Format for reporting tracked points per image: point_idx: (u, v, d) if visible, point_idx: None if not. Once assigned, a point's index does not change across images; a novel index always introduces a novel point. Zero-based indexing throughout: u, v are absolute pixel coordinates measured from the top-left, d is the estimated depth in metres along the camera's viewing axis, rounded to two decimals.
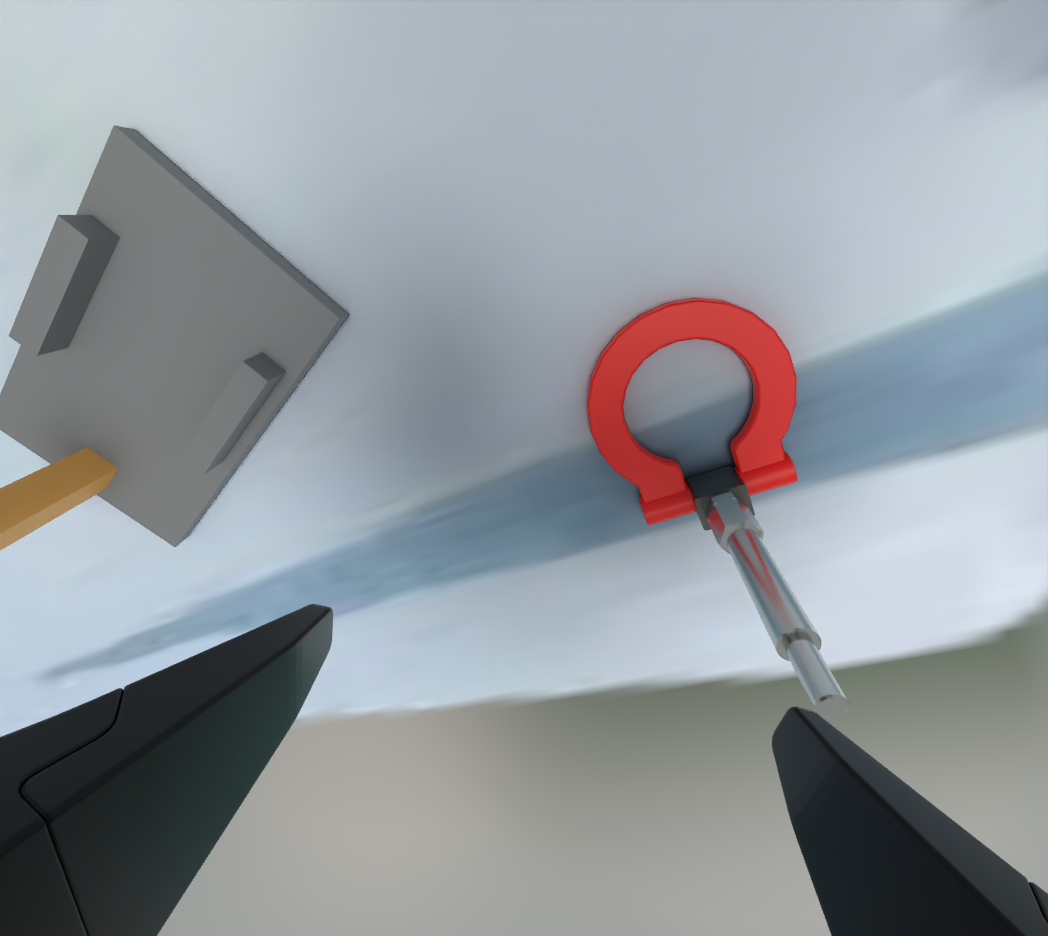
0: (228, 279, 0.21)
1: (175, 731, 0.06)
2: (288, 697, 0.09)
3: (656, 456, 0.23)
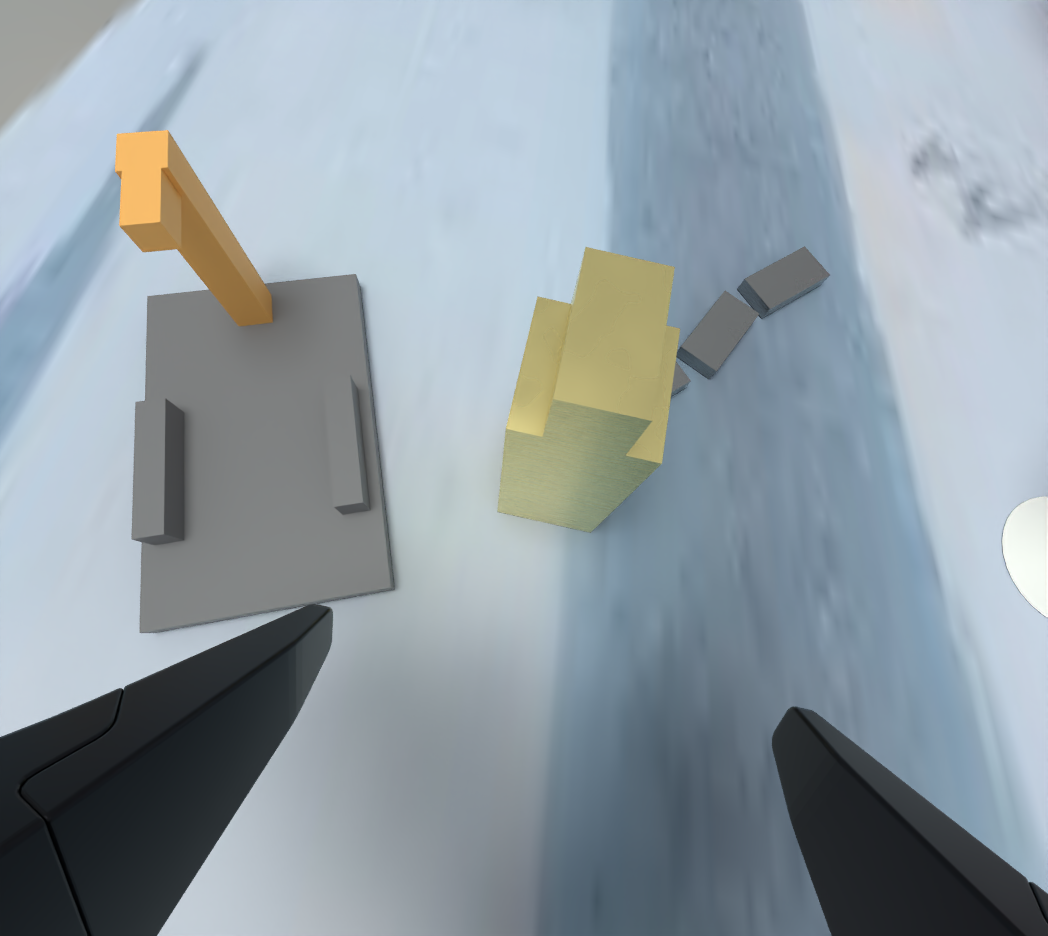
0: (248, 568, 0.22)
1: (175, 731, 0.06)
2: (288, 697, 0.09)
3: None
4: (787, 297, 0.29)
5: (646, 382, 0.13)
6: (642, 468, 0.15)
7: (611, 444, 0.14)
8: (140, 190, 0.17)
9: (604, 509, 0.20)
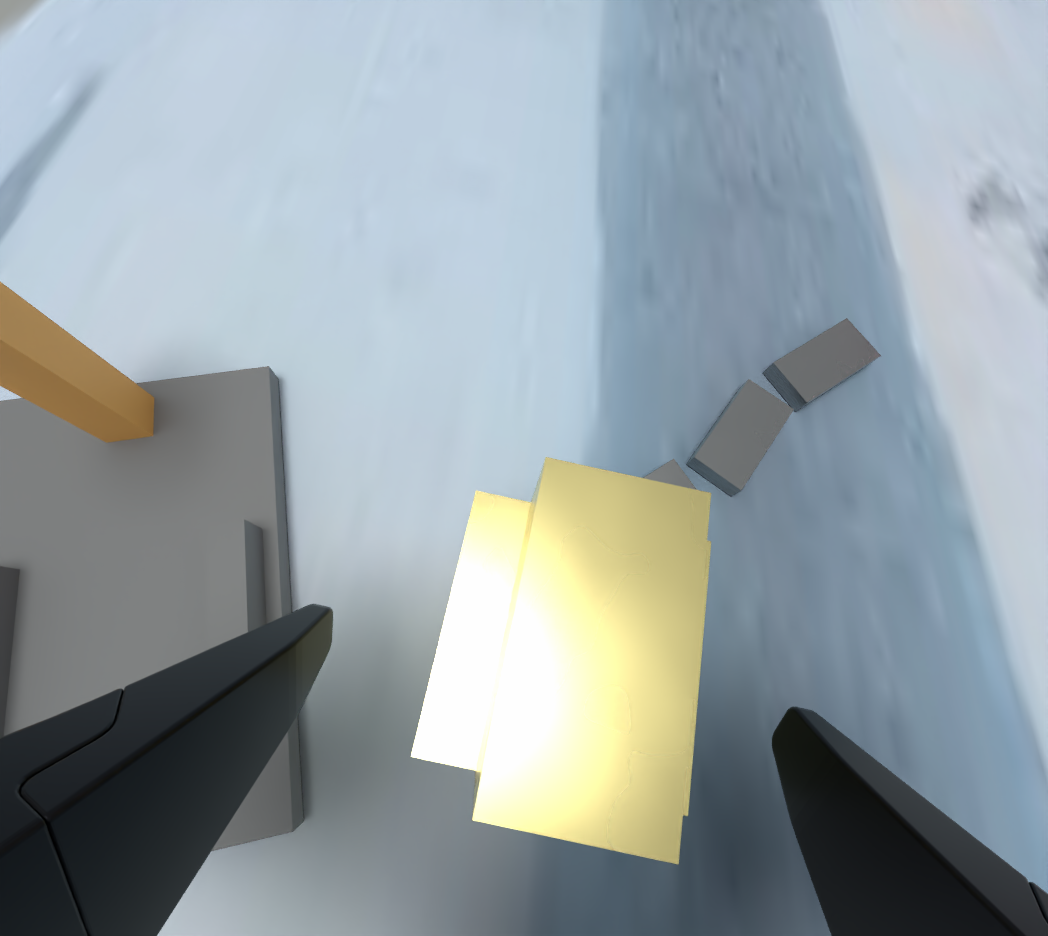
0: None
1: (175, 731, 0.06)
2: (288, 697, 0.09)
3: None
4: (828, 386, 0.22)
5: (664, 764, 0.06)
6: None
7: None
8: None
9: None
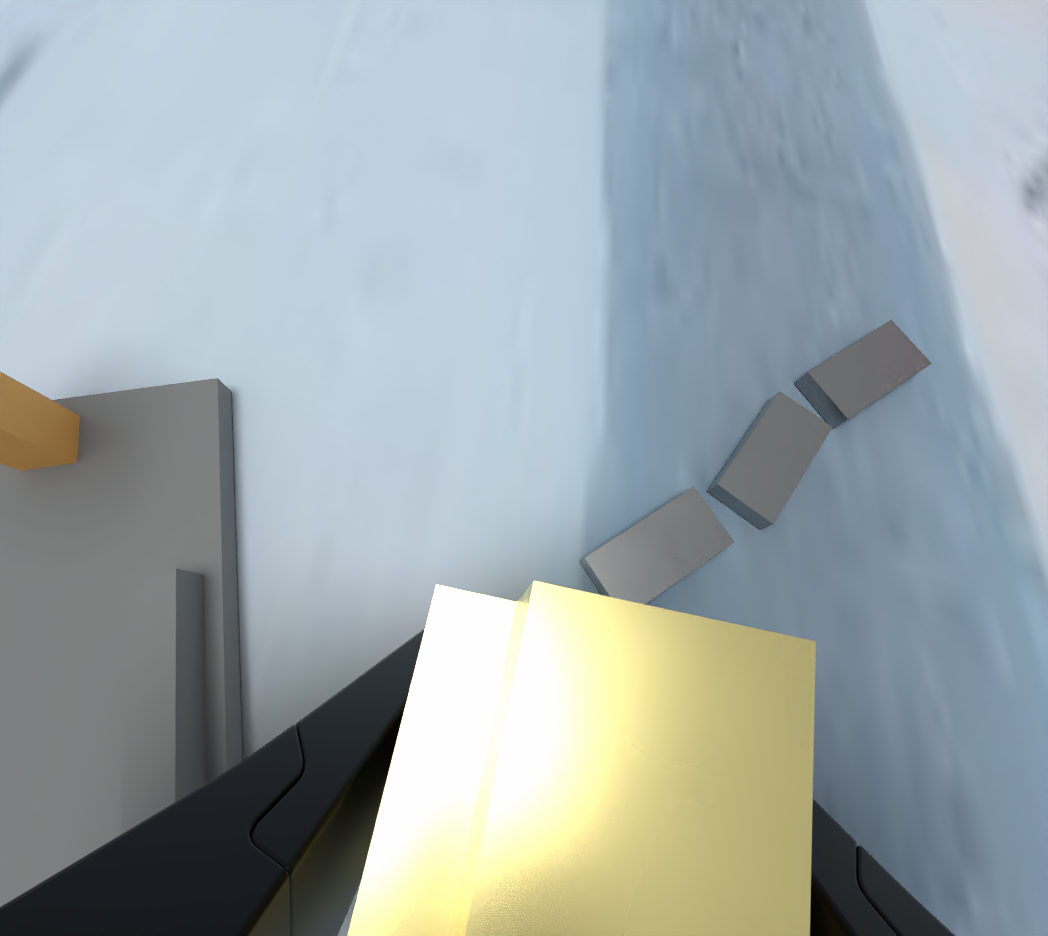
0: None
1: (360, 771, 0.06)
2: None
3: None
4: (872, 400, 0.19)
5: None
6: None
7: None
8: None
9: None
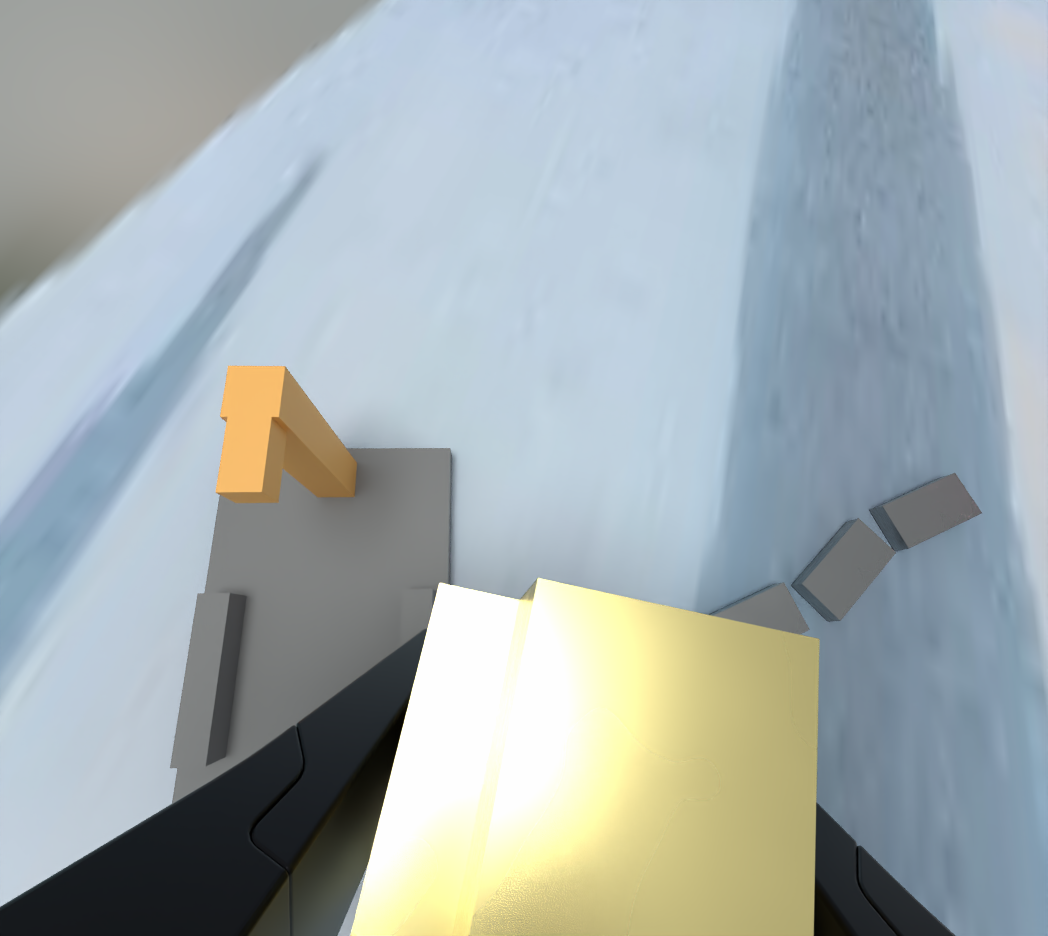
0: None
1: (360, 771, 0.06)
2: None
3: None
4: (930, 535, 0.25)
5: None
6: None
7: None
8: (245, 445, 0.15)
9: None
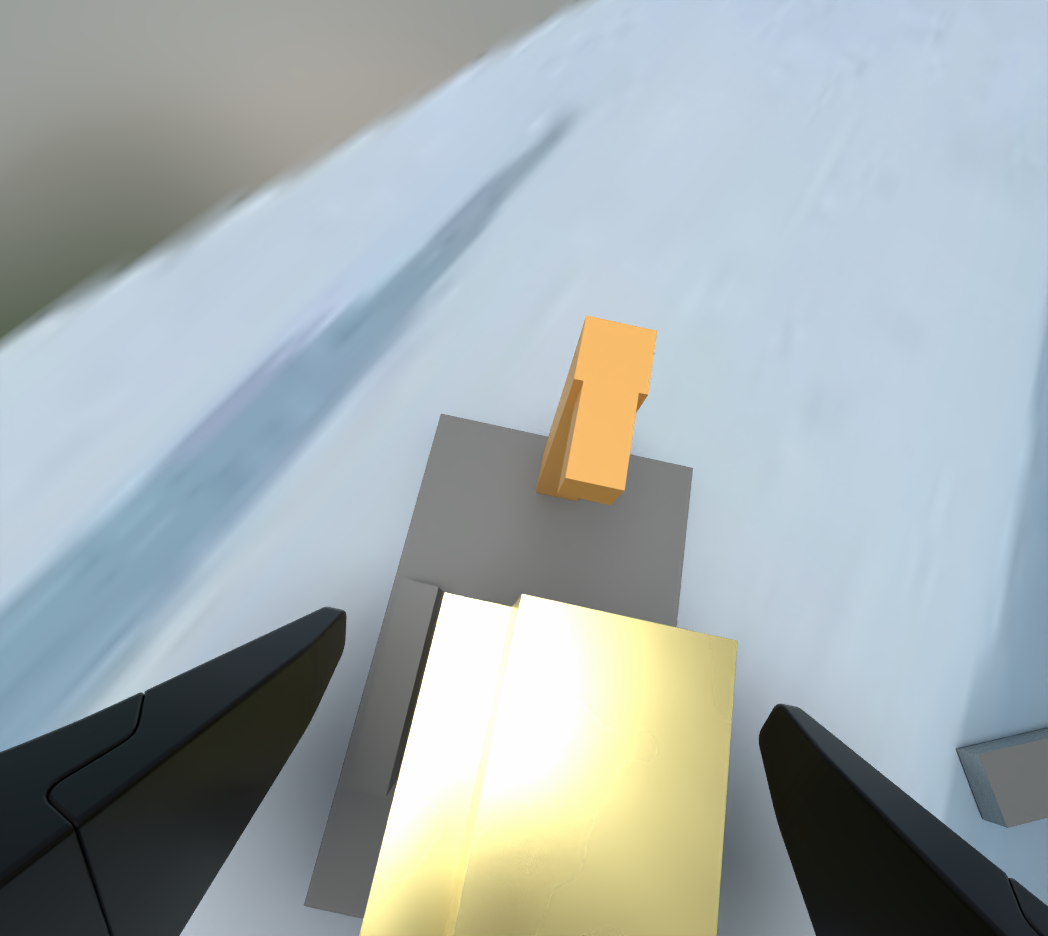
0: None
1: (197, 736, 0.06)
2: (304, 701, 0.09)
3: None
4: None
5: None
6: None
7: None
8: (604, 423, 0.11)
9: None
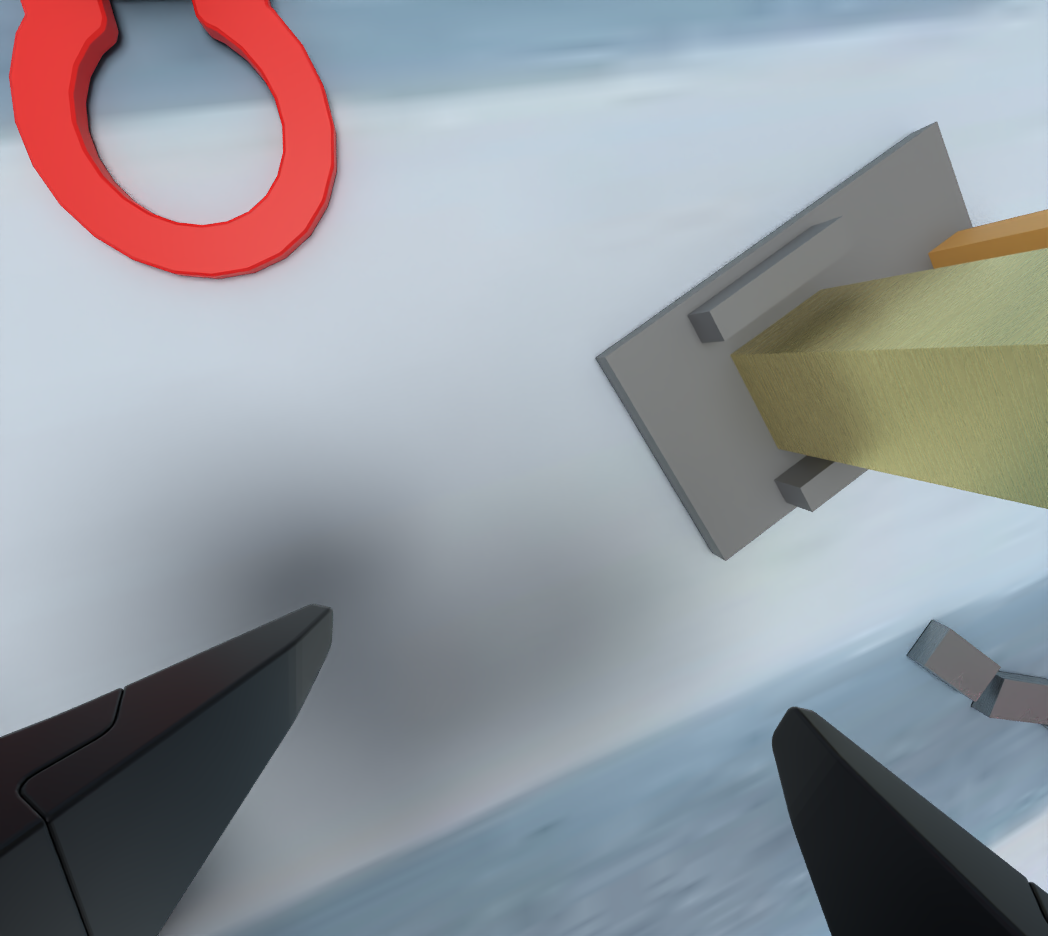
0: (698, 422, 0.20)
1: (175, 731, 0.06)
2: (288, 697, 0.09)
3: (238, 52, 0.16)
4: None
5: None
6: None
7: None
8: None
9: (867, 461, 0.17)
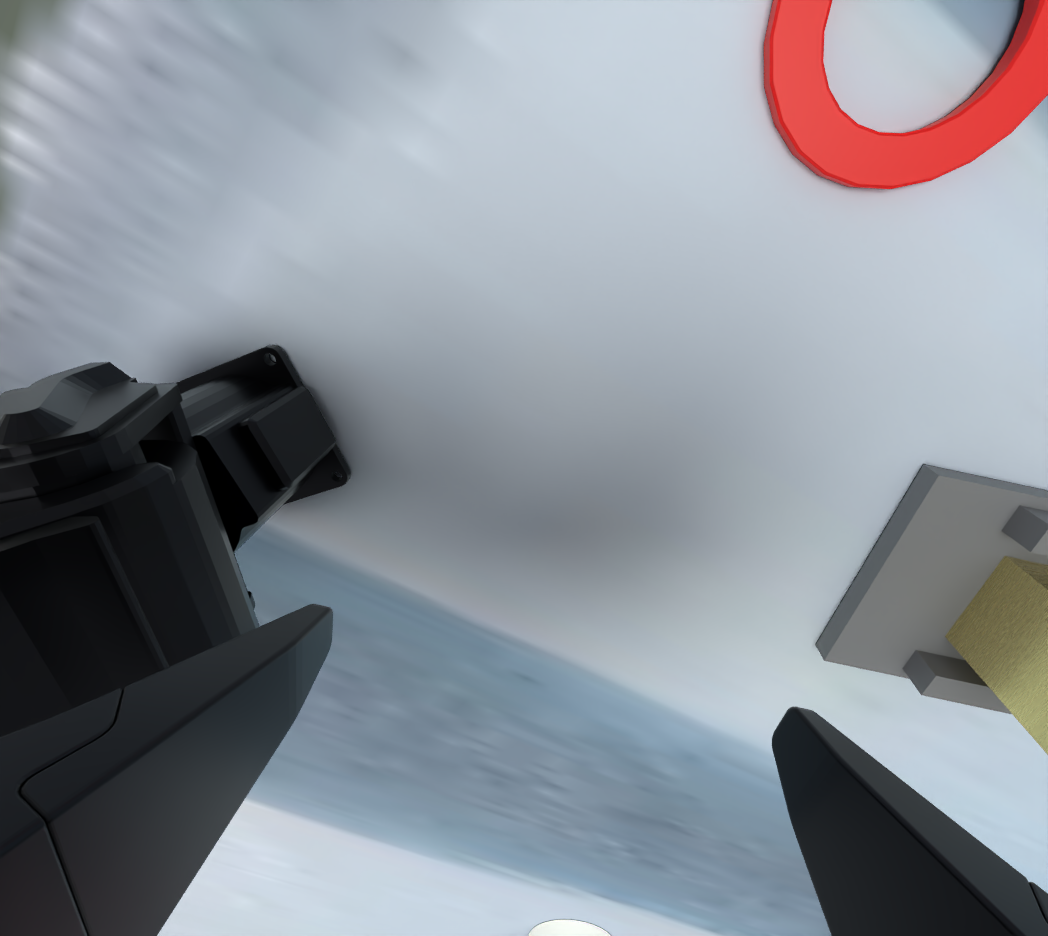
0: (927, 572, 0.22)
1: (175, 731, 0.06)
2: (288, 697, 0.09)
3: None
4: None
5: None
6: None
7: None
8: None
9: (1026, 718, 0.19)
